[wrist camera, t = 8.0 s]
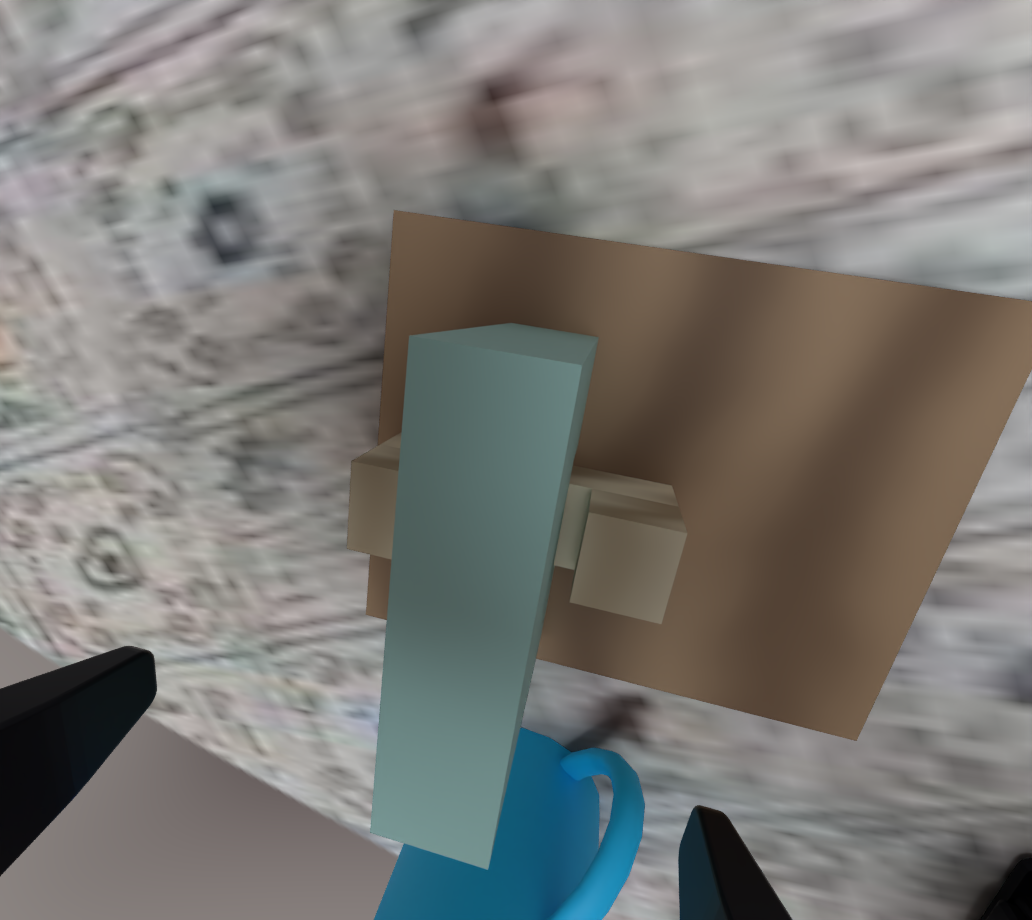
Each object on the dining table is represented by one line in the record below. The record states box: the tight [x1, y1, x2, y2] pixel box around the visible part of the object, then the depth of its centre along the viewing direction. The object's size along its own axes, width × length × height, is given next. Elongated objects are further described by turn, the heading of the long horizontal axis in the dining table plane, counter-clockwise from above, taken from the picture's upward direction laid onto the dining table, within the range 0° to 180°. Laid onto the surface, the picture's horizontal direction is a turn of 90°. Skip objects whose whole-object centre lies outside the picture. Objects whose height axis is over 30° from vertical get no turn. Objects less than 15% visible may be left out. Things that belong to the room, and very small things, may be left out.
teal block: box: [370, 323, 599, 870], centre depth 15 cm, size 3×12×9 cm, turn 171°
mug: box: [374, 728, 645, 920], centre depth 20 cm, size 12×8×8 cm
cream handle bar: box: [347, 432, 687, 624], centre depth 17 cm, size 10×3×4 cm, turn 81°
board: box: [366, 210, 1032, 741], centre depth 18 cm, size 20×16×1 cm
